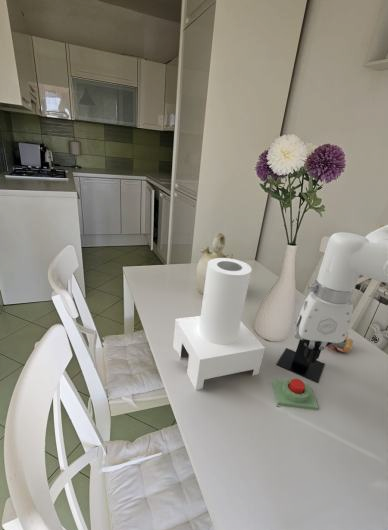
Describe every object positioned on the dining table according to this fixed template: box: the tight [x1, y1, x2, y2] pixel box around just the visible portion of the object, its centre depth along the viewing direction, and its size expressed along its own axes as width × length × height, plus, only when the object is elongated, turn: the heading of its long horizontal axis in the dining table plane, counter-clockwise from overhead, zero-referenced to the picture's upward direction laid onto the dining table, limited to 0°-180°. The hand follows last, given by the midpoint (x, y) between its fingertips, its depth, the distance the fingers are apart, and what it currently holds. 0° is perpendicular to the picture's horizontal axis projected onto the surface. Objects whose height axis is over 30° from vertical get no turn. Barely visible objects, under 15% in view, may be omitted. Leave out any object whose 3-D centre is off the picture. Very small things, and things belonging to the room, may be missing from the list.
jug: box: [196, 232, 234, 295], centre depth 124 cm, size 15×16×25 cm
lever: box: [330, 338, 354, 353], centre depth 83 cm, size 12×5×2 cm, turn 58°
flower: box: [327, 332, 349, 353], centre depth 100 cm, size 10×9×8 cm
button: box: [289, 378, 306, 394], centre depth 77 cm, size 4×4×2 cm
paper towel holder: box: [172, 258, 266, 391], centre depth 82 cm, size 19×19×30 cm
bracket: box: [276, 339, 326, 384], centre depth 88 cm, size 12×10×12 cm
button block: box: [271, 378, 319, 411], centre depth 78 cm, size 10×8×4 cm
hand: (309, 359), depth 73 cm, fingers closed
